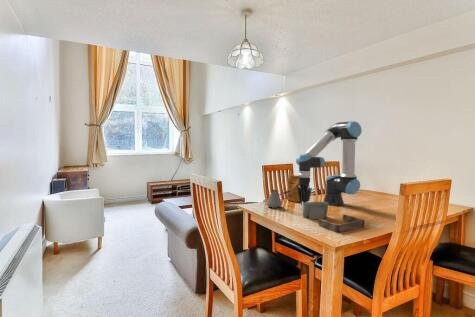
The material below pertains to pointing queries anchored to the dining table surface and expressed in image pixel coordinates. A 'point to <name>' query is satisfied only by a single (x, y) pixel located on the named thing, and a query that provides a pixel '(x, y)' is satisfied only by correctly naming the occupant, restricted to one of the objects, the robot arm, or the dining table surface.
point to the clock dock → (350, 225)
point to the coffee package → (293, 188)
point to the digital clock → (315, 210)
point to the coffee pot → (275, 199)
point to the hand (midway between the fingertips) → (303, 210)
